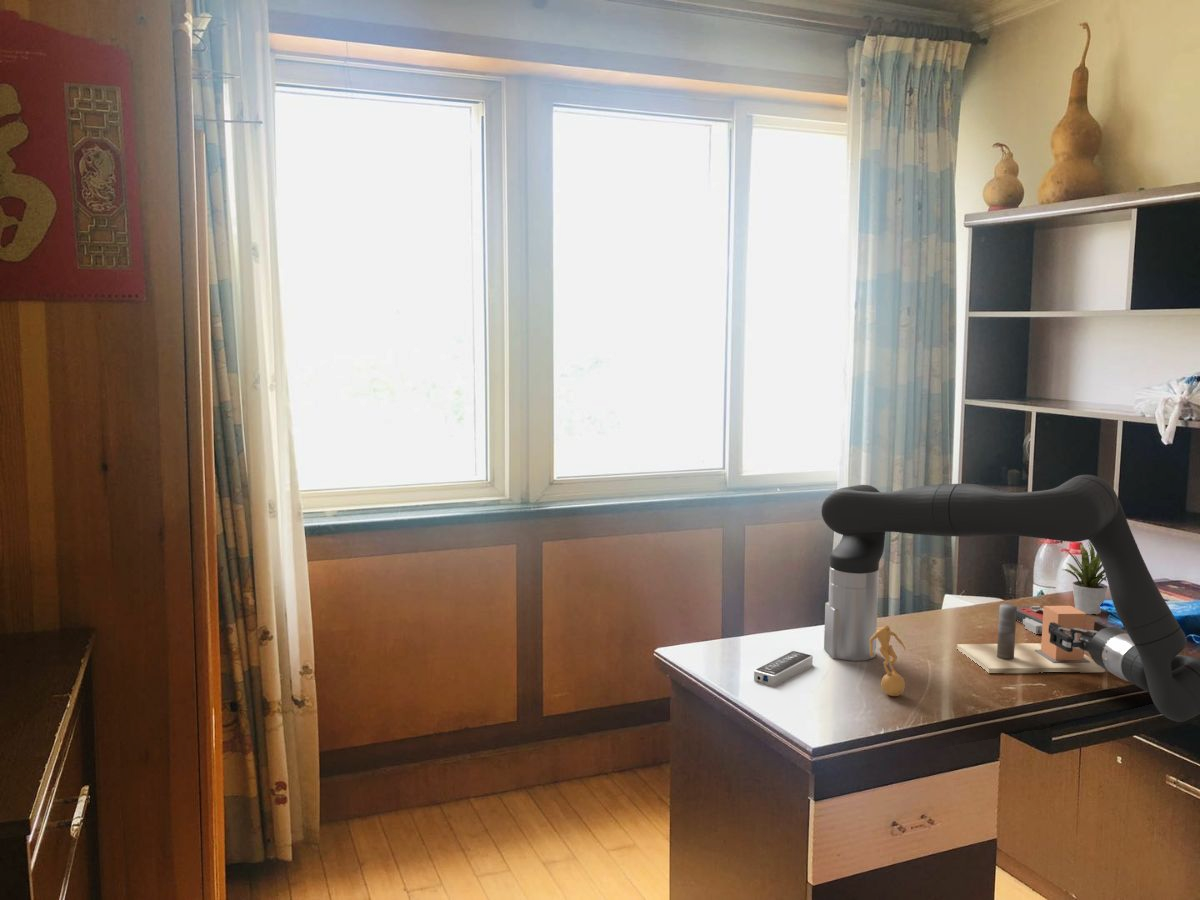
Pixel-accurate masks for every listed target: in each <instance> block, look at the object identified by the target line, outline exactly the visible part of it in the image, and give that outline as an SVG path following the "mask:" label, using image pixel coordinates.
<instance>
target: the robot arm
mask: <svg viewBox="0 0 1200 900" xmlns="http://www.w3.org/2000/svg"><path fill="white" fill-rule="evenodd" d="M821 517H822V520H823V522H824V523H825V525H826V526H827V527H828V528H829V529H830V530H832V531H833V532H835V533H836V534H838V535H841V536H842V538H841V539H840V541H839V543H838V545H836V547H835V548H834V549H832V551H831V553H830V556H829V575H828V577H829V578H828V579H829V581H828V601H826V602H825V603H824V605H825V607H824V631H823V632H824V633H823V634H824V635H823V636H824V638H823V649H824V650H825V652H826V653H827V654H828V655H829V656H830V657H831V659H841V660H845V661H856V662H857V661H859V662H860V661H868V660H872V659H873V658H875V657H876V652H877V651H876V649H877V638H876V639H874V640H873V644H872V645H873V651H872V652H873V653H874V654H875V655H874V654H873V655H874V657H873V656H870V642H869V640H870V638H871V637H872V636H873V635H874V634H875V633H876V629H877V628H878V627H877V625H878V622H877V620H878V598H879V577H880V576H879V574H880V572H879V571H880V560H881V559H882V557H883V553H884V552H885V551H884V550H885V541H886V532H887V533H899V534H901V533H902V534H910V535H920V536H921V535H922V536H938V537H967V538H968V537H1011V536H1012V537H1014V536H1015V537H1028V538H1035V539H1045V540H1050V541H1051V540H1052V541H1058V542H1059V541H1061V542H1070V543H1072V542H1073V543H1074V542H1075V543H1076V542H1079V543H1080V542H1083V541H1089V542H1090V543H1091V545H1092V546H1093V548H1094V551H1095V553H1096V554H1098V556H1099V558H1100V560H1101V563H1100V564H1102V565H1103V566H1102V567H1103V570H1104V571H1105V573H1104V575H1105V576H1106V581H1107V584H1108V588H1109V592H1110V596H1111V601H1112V604H1113V606H1114V609H1115V612H1116V614H1117V615H1118V618H1119V621H1120V622H1121V624H1122V625H1123V627H1117V626H1112V625H1111V626H1108V625H1106V624H1104V623H1102V622H1101V621H1094V622H1093V629H1089V630H1087V629H1085V630H1083V629H1079V628H1073V629H1067V628H1064V627H1062V626H1060V625H1058V624H1057V623H1055V622H1051V623H1050V625H1049V630H1048V632H1049V633H1050V643H1052V644H1054V645H1056V646H1058V647H1059V648H1061V649H1063V650H1065V651H1067V652H1072V651H1073V648H1076V649H1080V650H1084V652H1085V653H1088V654H1089V655H1090V658H1091V659H1093V660H1094V662H1095V663H1096V664H1097V665H1099V666H1101V667H1102V668H1104V669H1105V671H1108V672H1109V673H1111V674H1113V675H1114V676H1116V677H1118V678H1119V679H1121V680H1123V681H1126V682H1129V683H1130V684H1133V685H1134V686H1136V687H1138V688H1139V689H1140V690H1143V691H1144V692H1147V693H1148V694H1149V695H1150V697H1151V700H1152V703H1153V704H1154V706H1155V707H1156V709H1157V710H1158V712H1159V713H1160V714H1161V715H1163V716H1164V717H1165V718H1167V719H1169V720H1171V721H1173V722H1176V723H1183V722H1186V721H1188V720H1192V719H1193V718H1195V717H1197V716H1199V715H1200V657H1197V656H1191V655H1186V654H1180V653H1181V652H1182V651H1184V649H1185V648H1186V647H1187V645H1188V638H1187V637H1186V634H1185V632H1184V631H1183V629H1182V627H1181V626H1180V624H1179V622H1178V621H1177V618H1176V617H1175V616H1174V613H1173V612H1172V610H1171V609H1170V607H1169V605H1168V603H1167V602H1166V600H1165V598H1164V597H1163V595H1162V593H1161V592H1160V590H1159V588H1158V586H1157V585H1156V583H1155V581H1154V579H1153V577H1152V575H1151V573H1150V570H1149V569H1148V567H1147V564H1146V562H1145V560H1144V558H1143V555H1142V553H1141V551H1140V549H1139V545H1138V543H1137V541H1136V540H1135V537H1134V535H1133V532H1132V529H1131V528H1130V525H1129V523H1128V519H1127V517H1126V514H1125V512H1124V508H1123V506H1122V504H1121V502H1120V499H1119V497H1118V495H1117V493H1116V491H1115V489H1114V488H1113V486H1111V484H1110V483H1108V482H1107V481H1106V480H1105V479H1103V478H1101V477H1100V476H1096V475H1093V474H1080V475H1077V476H1074V477H1071V478H1070V479H1068V480H1067V481H1065V482H1063V483H1062V484H1059V486H1056V487H1054V488H1050V489H1043V490H1036V491H1021V492H1011V491H1009V492H1007V491H1002V490H998V489H996V488H991V487H988V486H985V485H982V484H974V483H943V484H931V485H922V486H916V487H910V488H904V489H899V490H895V491H894V490H892V491H884V492H883V491H881V492H880V490H878V489H877V488H876V487H874V486H872V485H868V484H857V485H852V486H851V485H850V486H846V487H845V486H844V487H840V488H838V489H835V490H834V491H832V492H831V493H830V494H828V495H827V496H826V498H825V499H824V501H823V503H822V505H821ZM1065 633H1069V634H1070V635H1067V634H1065ZM1077 633H1080V634H1081V636H1080V638H1079V641H1077ZM872 657H873V658H872Z"/></svg>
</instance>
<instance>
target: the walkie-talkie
mask: <svg viewBox="0 0 1200 900" xmlns="http://www.w3.org/2000/svg"><path fill="white" fill-rule="evenodd" d="M1016 607H1017V612H1016V620H1018V621H1020V622H1022V623H1023V624H1022V623H1021V624H1022V625H1023V626H1024V630H1025V629H1028V630H1029V631H1028V630H1027V631H1028V632H1030V631H1032V632H1033V633H1032V632H1031V633H1032V634H1034V633H1035V634H1042V625H1043V608H1044V607H1042V608H1041V606H1040V605H1033V606H1016ZM1020 622H1019V623H1020ZM1035 634H1034V635H1035Z"/></svg>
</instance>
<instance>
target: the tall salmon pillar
mask: <svg viewBox="0 0 1200 900" xmlns="http://www.w3.org/2000/svg"><path fill="white" fill-rule="evenodd" d="M1042 608H1043V625H1042V635H1041V642H1040V643H1041V651H1042V652H1043V653H1045V654H1046V655H1048V656H1050V657H1051V658H1053V659H1054V660H1083V659H1084V655H1085V654H1084V653H1085V650H1080V649H1076V648H1073V651H1072V652H1067V651H1065V650H1063V649H1061V648H1059V647H1058V646H1056V645H1054V644H1052V643H1050V633H1049V632H1048V630H1049V625H1050V623H1051V622H1055V623H1057V624H1058V625H1060V626H1062V627H1064V628H1067V629H1073V628H1079V629H1083V630H1086V626H1087V625H1086V624H1087V614H1086V613H1084V612H1082V611H1080V610H1078V609H1076V608H1075V606H1072V605H1043V607H1042ZM1065 634H1067V635H1070V634H1069V633H1065ZM1080 636H1081V634H1080V633H1077V641H1079V638H1080Z"/></svg>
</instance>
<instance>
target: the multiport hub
mask: <svg viewBox="0 0 1200 900" xmlns="http://www.w3.org/2000/svg"><path fill="white" fill-rule="evenodd" d="M813 658H814V655H812V654H808V653H804V652H801V651H800V652H799V651H796V650H793V651H791V650H790V652H787V653H785V654H784V655H782V656H779V657H778V658H776V659H774V660H771V661H769V662H767V663H765V664H764V665H762V666H759V667H758V668H756V669H754V670H753V681H754V682H757V683H762V684H765V685H768V686H771V687H772V686H773V687H776V686H778V685H779V684H781V683H784V682H785V681H786V680H789V679H790V677H791V678H793V677H794V676H796V675H798V674H800V673H802V672H803V670H804V671H806V670H808V669H809V668H811V667H813V662H814V661H813V660H814V659H813ZM801 671H802V672H801ZM788 678H789V679H788Z"/></svg>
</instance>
